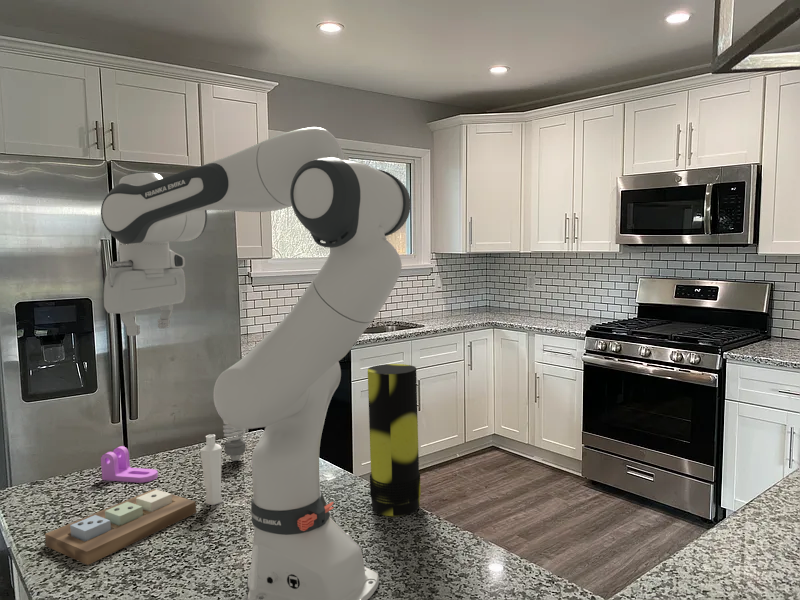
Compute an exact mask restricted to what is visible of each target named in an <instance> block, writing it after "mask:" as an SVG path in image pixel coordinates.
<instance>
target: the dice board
mask: <svg viewBox="0 0 800 600" xmlns="http://www.w3.org/2000/svg"><path fill="white" fill-rule="evenodd" d="M154 490H157V489H156V488H153V489H151V490H148V491H146V492H143V493H141V494H139V495H136V496H134V497H131V498H129V499H127V500H124V501H122V502H119V503H117V504H114V505H112V506H109V507H107V508H105V509H101V510H100V511H96V512H95V513H93V514H90V515H88V516H85V517H82V518H80V519H77V520H75V521H72V522H71V523H67V524H66V525H64V526H61V527H58V528H57V529H54V530H51V531H49V532H46V533H44V536H45V537H44V538H45V547H47V548H49V549H51V550H53V551H54V552H55V551H56V552H57V553H60V554H63V555H64V556H67V557H68V558H71V559H72V560H76V561H78V562H80V563H82V564H85V565H87V566H89V565H91V564H94V563H95V562H97V561H99V560H102V559H103V558H105V557H108V556H110V555H112V554H114V553H116V552H118V551H120V550H122V549H124V548H126V547H129V546H131V545H132V544H135V543H136V542H139V541H141V540H143V539H146V538H148V537H149V536H151V535H153V534H155V533H157V532H159V531H162V530H163V529H166V528H168V527H170V526H171V525H174V524H176V523H178V522H180V521H183V520H184V519H187V518H188V517H191V516H192V515H195V514H196V513H197V503H196V501H195V500H191V499H189V498H186V497H182V496H178V495H175V494H172V503H171V504H168V505H166V506H164V507H162V508H159V509H157V510H155V511H153V512H149V511H146V510H143V516H141V517H139V518H137V519H135V520H132V521H130V522H128V523H126V524H123V525H121V526H118V525H115V524H112V523H111V530H110V531H108V532H105V533H103V534H101V535H99V536H97V537H94V538H92V539H90V540H88V541H85V542H84V541H82V540H80V539H77V538H75V537H72V536H71V528H70V525H72V524H74V523H77V522H79V521H82V520H84V519H87V518H89V517H91V516H94V515H97V516H100V517H102V518H105V511H106V510H108V509H111V508H113V507H116V506H118V505H120V504H123V503H125V502H130V503H133V504H136V505H137V503H136V498H137V497H140V496H142V495H145V494H147V493H150V492H152V491H154Z"/></svg>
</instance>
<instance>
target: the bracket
mask: <svg viewBox="0 0 800 600" xmlns="http://www.w3.org/2000/svg"><path fill="white" fill-rule="evenodd" d="M100 467H101V469H100V470H101V479H102V481H110V482H111V481H112V482H115V481H116V482H123V483H124V482H125V483H126V482H127V483H147V482H148V483H149V482H151V481H155V480H157V479H158V477H159V473H158V470H157V469H154V468H144V467H143V468H141V467H131V462H130V452H129V449H128V448H127V447H125V445H121V446H120V445H119V446H118V447H115V448H114V449H113V450H112V451H107V452H106V453H104V454H102V456H101V457H100Z"/></svg>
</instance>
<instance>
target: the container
mask: <svg viewBox="0 0 800 600" xmlns="http://www.w3.org/2000/svg"><path fill="white" fill-rule="evenodd" d="M417 380H418V378H417V367H416V366H414V365H411V364H406V363H405V364H404V363H403V364H402V363H387V364H386V363H385V364H378V365H373V366H370V367H368V368H367V389H368V390H367V393H368V422H369V423H368V424H369V426H368V429H369V451H370V456H369V458H370V474H369V491H370V494H369V495H370V498H371V507H372V509H373V511H374V512H376V513H377V514H379V515H382V516H385V517H405V516H407V515H411V514H413V513H414V512H416V511H417V510H419V508H420V506H421V505H420V504H421V501H420V500H421V496H422V495H421V494H422V493H421V492H422V491H421V489H422V488H421V474H420V473H421V472H420V463H419V462H420V461H419V460H420V458H419V425H418V424H419V423H418V422H419V421H418V420H419V418H418V386H417V385H418V384H417V382H418V381H417Z"/></svg>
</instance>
